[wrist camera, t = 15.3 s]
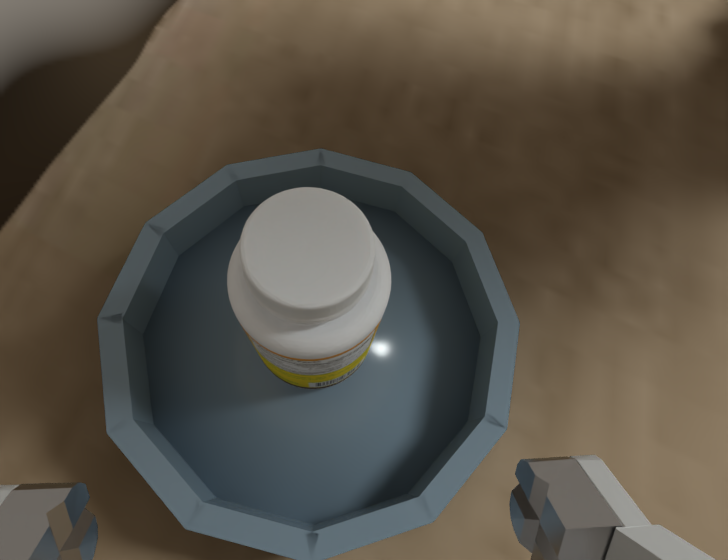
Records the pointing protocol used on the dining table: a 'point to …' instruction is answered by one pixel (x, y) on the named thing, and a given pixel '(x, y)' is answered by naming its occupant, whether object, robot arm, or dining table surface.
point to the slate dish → (297, 405)
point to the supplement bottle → (309, 285)
